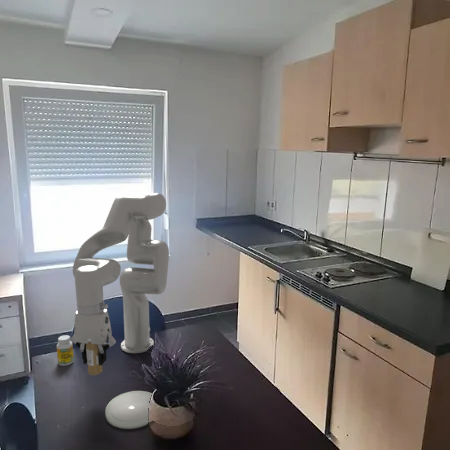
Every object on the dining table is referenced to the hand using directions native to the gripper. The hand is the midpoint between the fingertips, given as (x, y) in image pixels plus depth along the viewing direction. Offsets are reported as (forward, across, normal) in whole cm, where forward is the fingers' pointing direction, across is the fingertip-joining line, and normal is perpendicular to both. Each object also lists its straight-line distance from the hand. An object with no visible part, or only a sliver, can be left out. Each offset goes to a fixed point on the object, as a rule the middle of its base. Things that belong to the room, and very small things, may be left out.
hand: (94, 361), depth 125 cm
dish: (+12, -14, +5) cm, 19 cm away
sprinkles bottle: (+4, 0, 0) cm, 4 cm away
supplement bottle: (+13, +20, -17) cm, 29 cm away
